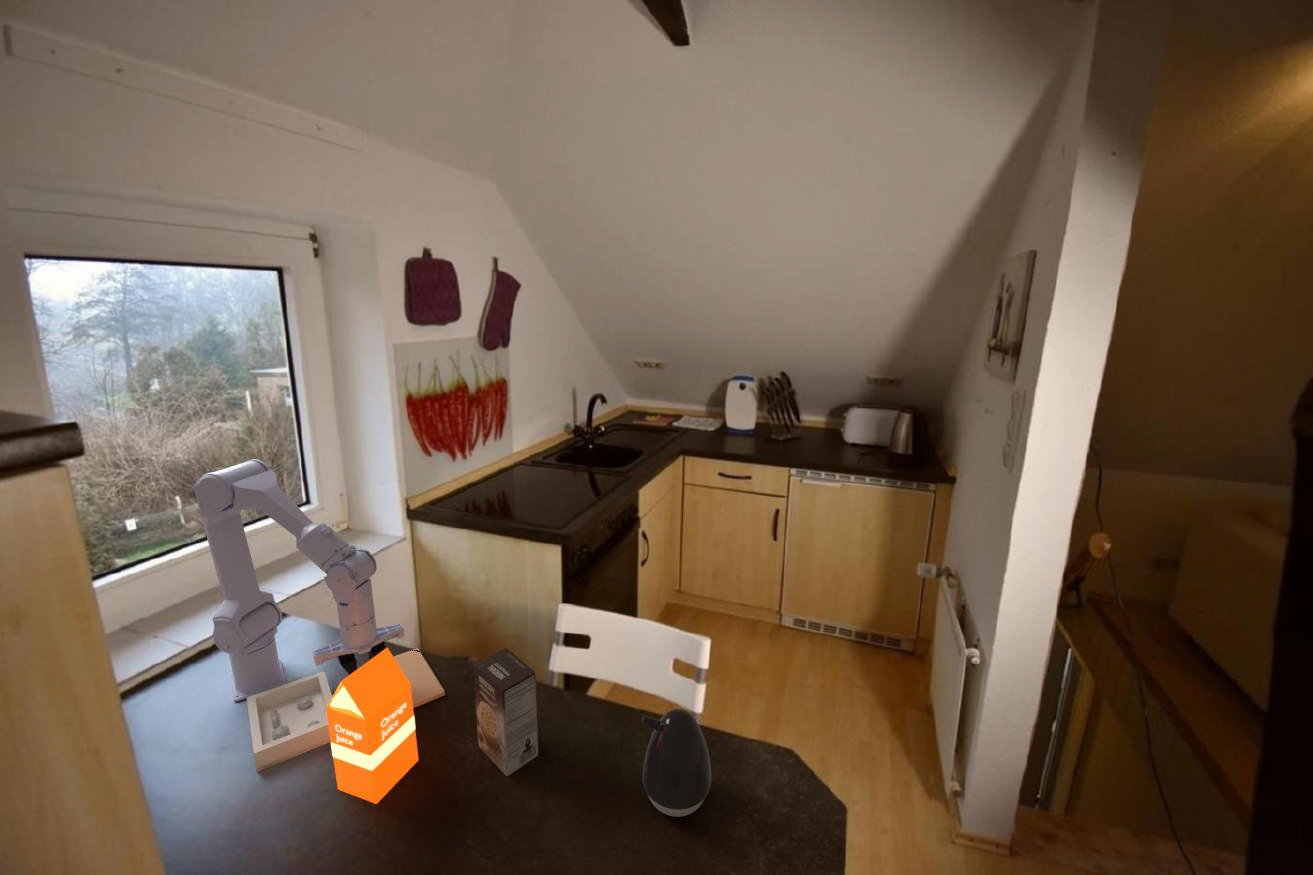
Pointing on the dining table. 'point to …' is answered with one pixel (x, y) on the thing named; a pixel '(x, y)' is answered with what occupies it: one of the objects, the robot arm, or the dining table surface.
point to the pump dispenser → (676, 764)
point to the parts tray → (289, 720)
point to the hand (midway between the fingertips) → (365, 682)
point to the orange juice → (372, 728)
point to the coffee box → (506, 710)
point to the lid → (419, 677)
